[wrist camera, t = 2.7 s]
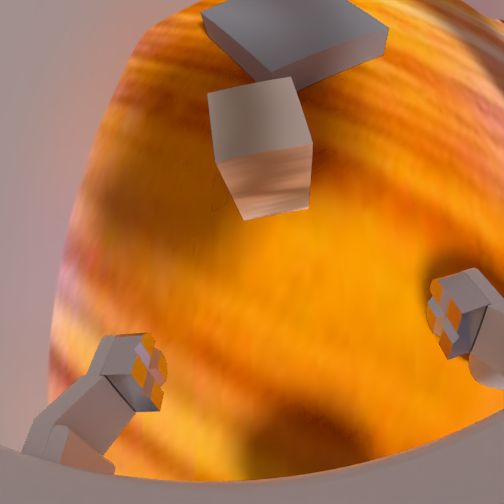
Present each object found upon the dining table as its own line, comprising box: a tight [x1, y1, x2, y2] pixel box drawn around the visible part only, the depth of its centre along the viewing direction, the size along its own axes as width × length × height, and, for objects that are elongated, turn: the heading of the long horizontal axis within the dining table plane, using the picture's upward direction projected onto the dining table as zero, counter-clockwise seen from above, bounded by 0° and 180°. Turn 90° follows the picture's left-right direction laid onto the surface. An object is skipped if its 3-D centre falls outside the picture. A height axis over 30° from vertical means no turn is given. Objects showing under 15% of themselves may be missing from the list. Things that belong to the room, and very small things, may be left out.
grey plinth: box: [200, 0, 389, 92], centre depth 26 cm, size 14×14×4 cm
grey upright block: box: [207, 77, 313, 221], centre depth 20 cm, size 5×5×9 cm
